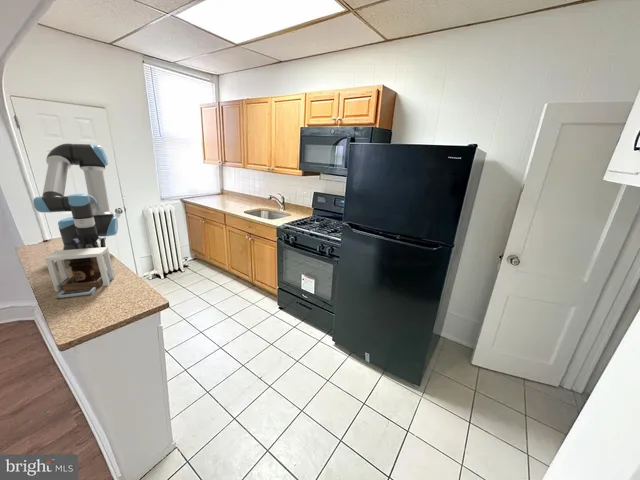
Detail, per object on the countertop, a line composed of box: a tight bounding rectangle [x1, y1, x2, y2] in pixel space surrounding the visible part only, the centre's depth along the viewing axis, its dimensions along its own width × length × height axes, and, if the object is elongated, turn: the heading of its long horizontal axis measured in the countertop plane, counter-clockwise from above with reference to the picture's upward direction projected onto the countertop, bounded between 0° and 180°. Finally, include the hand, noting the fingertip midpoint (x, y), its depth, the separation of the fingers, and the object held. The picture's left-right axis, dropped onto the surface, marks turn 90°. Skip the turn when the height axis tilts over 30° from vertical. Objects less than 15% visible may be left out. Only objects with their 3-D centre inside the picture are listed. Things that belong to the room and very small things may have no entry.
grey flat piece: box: [55, 287, 97, 300], centre depth 115 cm, size 5×12×1 cm, turn 112°
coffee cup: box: [68, 257, 96, 283], centre depth 122 cm, size 9×8×13 cm
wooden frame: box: [61, 257, 108, 292], centre depth 127 cm, size 20×14×10 cm, turn 22°
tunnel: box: [44, 246, 115, 292], centre depth 122 cm, size 9×20×16 cm, turn 111°
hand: (96, 269), depth 135 cm, fingers closed on wooden frame, 3 cm apart
